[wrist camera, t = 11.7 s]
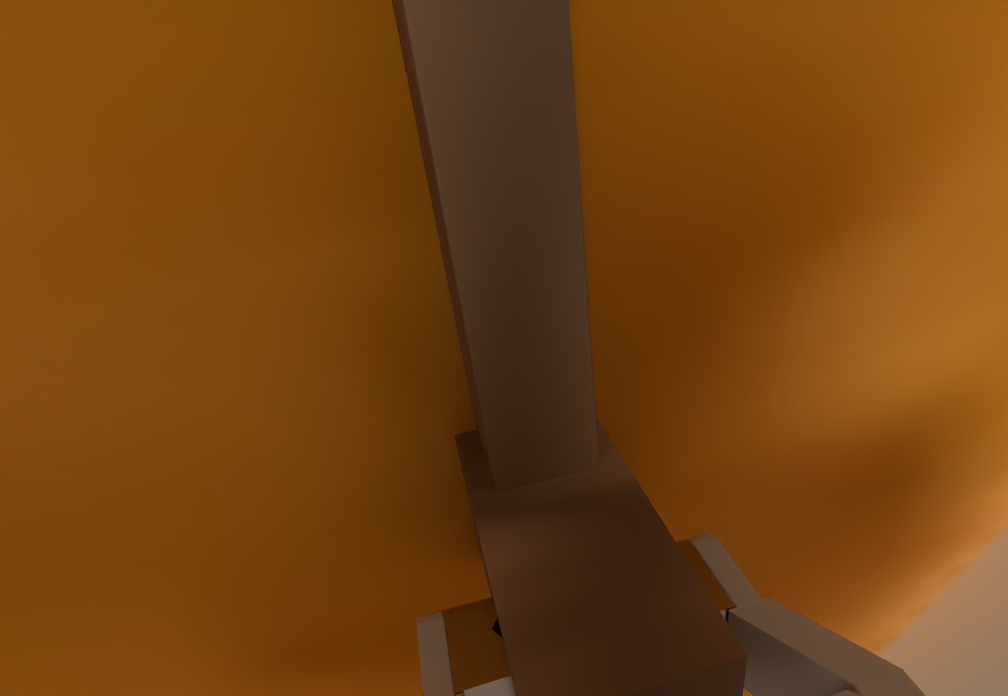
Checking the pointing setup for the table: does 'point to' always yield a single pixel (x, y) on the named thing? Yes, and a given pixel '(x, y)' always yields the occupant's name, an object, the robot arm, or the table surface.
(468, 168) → the hooked rake
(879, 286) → the table surface
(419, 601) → the table surface
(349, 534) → the table surface
